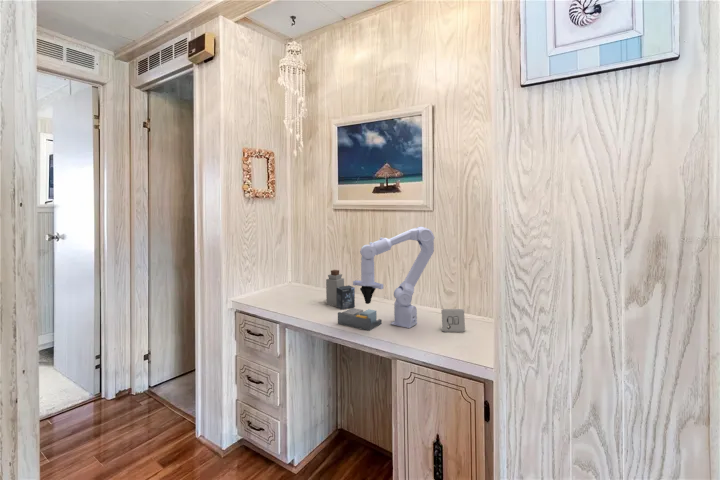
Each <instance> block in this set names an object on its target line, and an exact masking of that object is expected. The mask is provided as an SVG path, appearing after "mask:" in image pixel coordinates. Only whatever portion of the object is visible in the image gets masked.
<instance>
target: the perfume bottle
mask: <svg viewBox="0 0 720 480" xmlns="http://www.w3.org/2000/svg"><path fill="white" fill-rule="evenodd" d="M327 277H328V278H325V291H326V305H328V306H331V307H337V293H336V292H337V288H336V287H342V286H345V278H344V277H343V274H341V273H340V270H339V269H332V270H330V274H327Z"/></svg>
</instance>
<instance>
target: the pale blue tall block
mask: <svg viewBox="0 0 720 480" xmlns="http://www.w3.org/2000/svg"><path fill="white" fill-rule="evenodd" d="M360 315H362V316H367V317H368V318H371V323H373V322H375V321H376V320H378V319H377V317H378V316H377V310H376V309H370V308H368V309H366V310H365V311H364V310H363V312H362V313H360Z"/></svg>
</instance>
